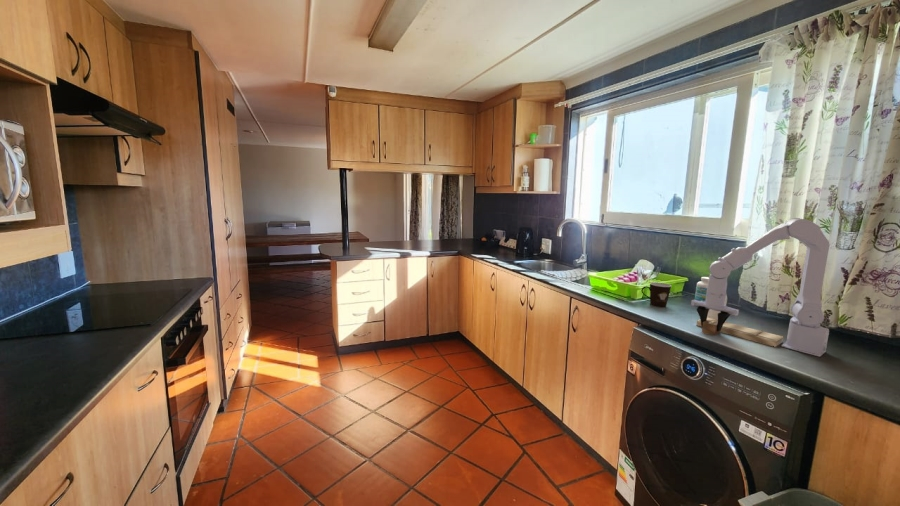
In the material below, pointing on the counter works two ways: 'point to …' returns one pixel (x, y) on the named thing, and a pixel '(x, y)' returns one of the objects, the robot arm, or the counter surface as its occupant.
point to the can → (715, 312)
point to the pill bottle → (701, 289)
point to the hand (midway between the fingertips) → (710, 328)
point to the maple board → (749, 333)
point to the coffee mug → (658, 294)
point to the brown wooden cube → (710, 327)
